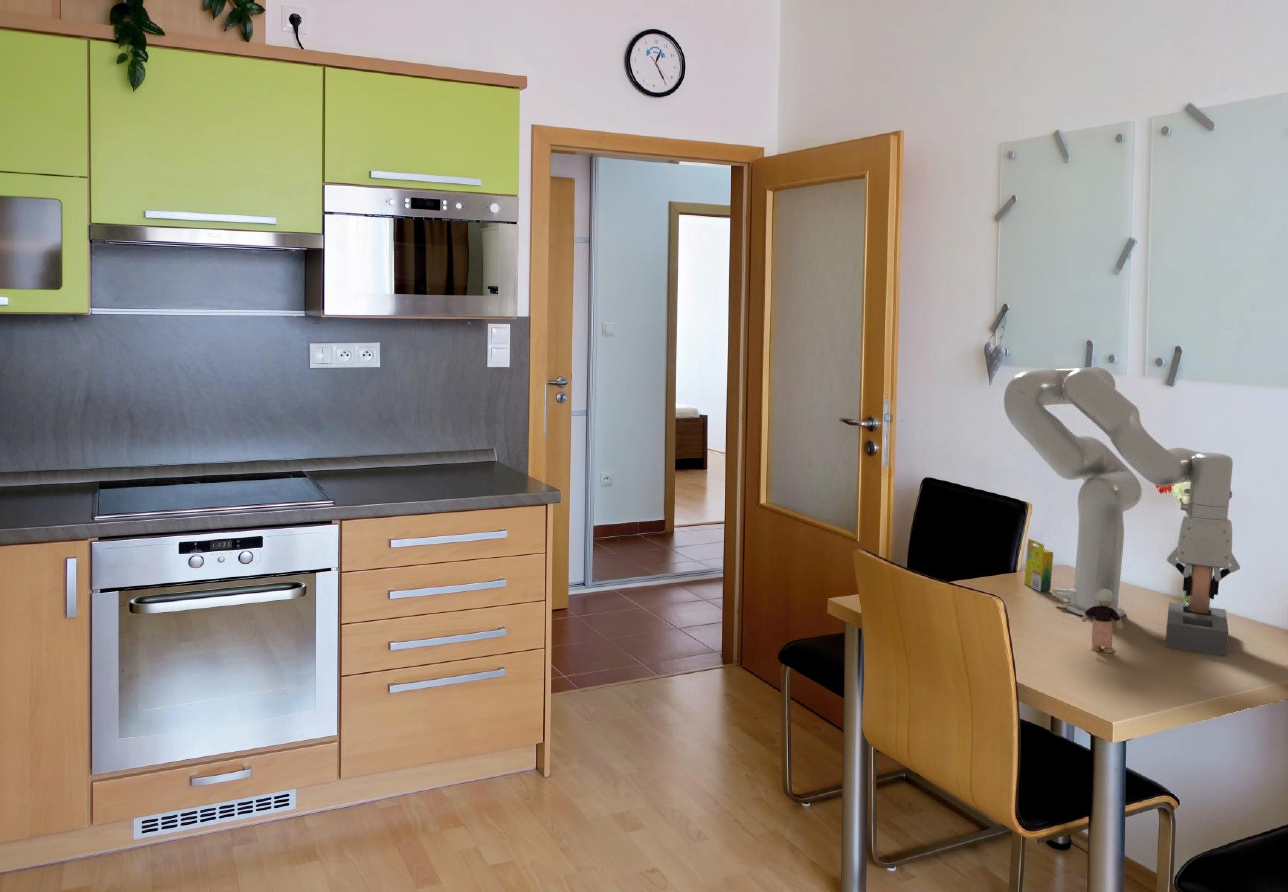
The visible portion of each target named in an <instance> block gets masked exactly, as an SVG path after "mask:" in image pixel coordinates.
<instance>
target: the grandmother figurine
mask: <svg viewBox="0 0 1288 892" xmlns="http://www.w3.org/2000/svg"><path fill="white" fill-rule="evenodd" d="M1095 599H1096V600H1097V601H1098V603H1099V604H1100V605H1101V606H1093V607H1091V608H1089V609H1088V610H1087V611H1085V614H1084V616H1083V615H1082V617H1081V621H1082V623H1086V622H1087V621H1088V619H1089V618H1093V621H1092V629H1091V645H1090V649H1091V651H1092V652H1093V651H1094V652H1101V650H1102V652H1103V653H1106V654H1107V653H1108V654H1110V653H1111V654H1113V653H1114V652H1115V648H1114V646H1113V630H1114V629H1113V622H1112V620H1113V621H1114V622H1115V624H1116V627H1117V629H1119V630H1122V629H1124V628H1123V627H1124V625H1123V624H1122V620H1121V618H1122V617H1119V615H1118V614H1117V612H1116V611H1115V610H1114V609H1112V608H1110V607H1107V606H1109V605H1110V604H1111V602H1112V599H1113V593H1112V591H1111V590H1109V589H1102V590H1100V591H1098V593H1097V594H1096V596H1095ZM1094 617H1095V618H1094ZM1102 647H1104V649H1102Z"/></svg>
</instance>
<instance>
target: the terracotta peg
mask: <svg viewBox="0 0 1288 892" xmlns="http://www.w3.org/2000/svg"><path fill="white" fill-rule="evenodd" d="M1190 573H1191V589H1190V596H1188V610H1190V611H1193V612H1197V613H1208V612H1209V607H1210V604H1211V598H1210V592H1211V582H1212V578H1213V576H1214V568H1213V567H1206V566H1197V565H1192V568H1191V571H1190Z"/></svg>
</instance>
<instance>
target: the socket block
mask: <svg viewBox="0 0 1288 892" xmlns="http://www.w3.org/2000/svg"><path fill="white" fill-rule="evenodd" d="M1227 616H1228V615H1227V610H1226V609H1223V608H1218V607H1217V608H1216V607H1210V606H1209V612H1208V613H1197V612H1193V611H1190V610H1188V604H1186V603H1180V602H1172V601H1169V602H1168V610H1167V619H1166V633H1165V636H1166V637H1165V648H1170V649H1176V650H1177V649H1178V650H1181V651H1182V650H1184V651H1189V652H1196V653H1202V654H1204V653H1205V654H1208V655H1215V656H1222V657H1223V656H1224V657H1227V650H1228V649H1227V648H1228V642H1229V641H1228V640H1229V627H1228V626H1229V625H1228V619H1227V618H1228V617H1227Z"/></svg>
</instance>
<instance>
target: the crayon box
mask: <svg viewBox="0 0 1288 892" xmlns="http://www.w3.org/2000/svg"><path fill="white" fill-rule="evenodd" d="M1027 540H1028V541H1027V546H1026V557H1025V558H1026V560H1025V570H1024V573H1025V574H1024V585H1026V586H1028V587H1030V588H1032V589H1034V590H1036V591H1038V592H1039V593H1044V592H1045V593H1049V592H1051V587H1052V575H1053V574H1052V573H1053V562H1054V560H1053V559H1054V552H1053V551H1051V550H1049V549H1046V548H1044V547H1045V544H1043V543H1041V542H1038V541H1036V540H1033V539H1031V538H1028V539H1027ZM1033 544H1036V545H1033Z"/></svg>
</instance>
